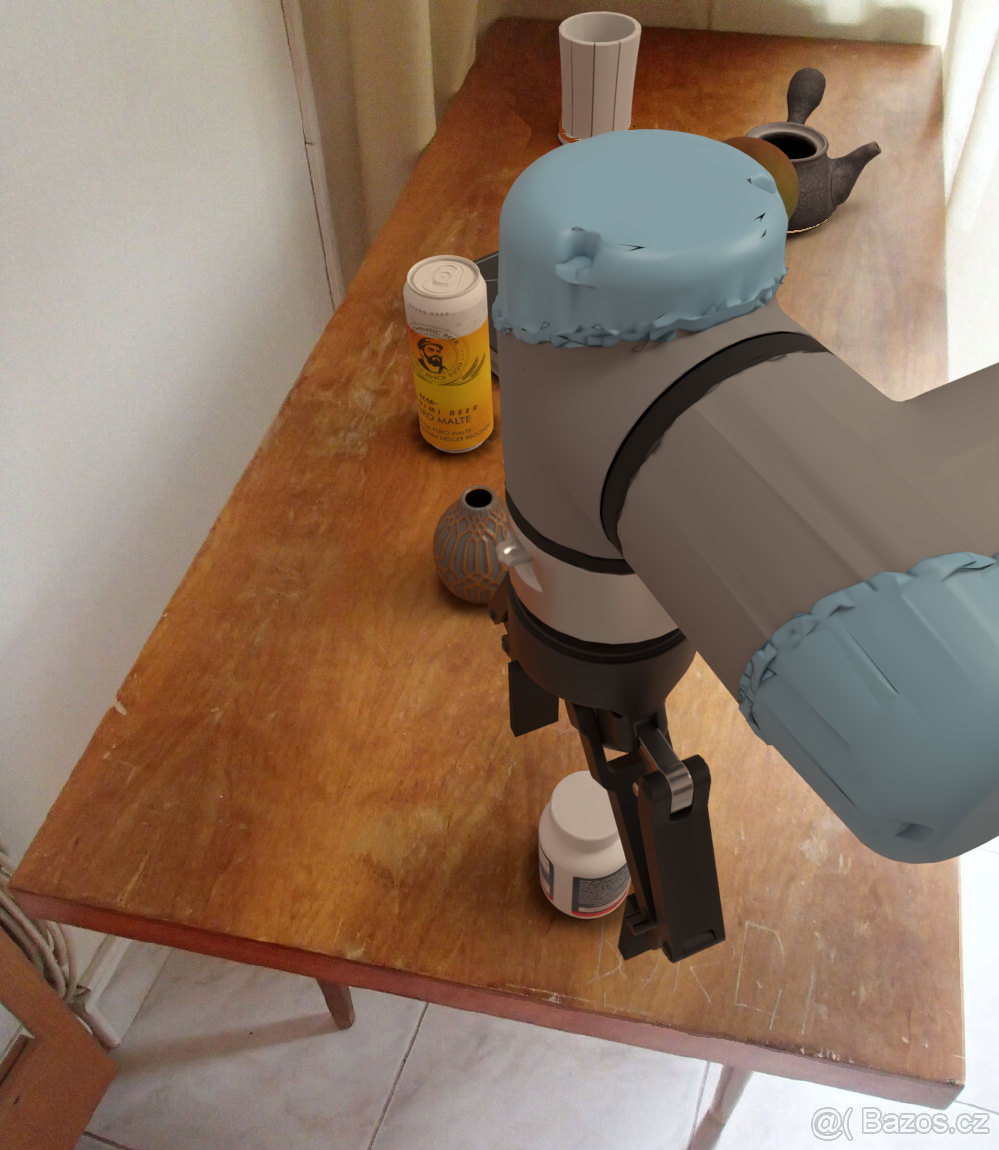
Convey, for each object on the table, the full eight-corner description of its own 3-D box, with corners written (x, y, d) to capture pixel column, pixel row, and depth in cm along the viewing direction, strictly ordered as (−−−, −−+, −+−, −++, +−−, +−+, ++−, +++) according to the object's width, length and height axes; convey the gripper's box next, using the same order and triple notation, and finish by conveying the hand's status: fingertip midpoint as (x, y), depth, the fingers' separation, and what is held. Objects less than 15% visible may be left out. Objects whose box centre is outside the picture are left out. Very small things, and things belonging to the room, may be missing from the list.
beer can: (410, 449, 81) (388, 292, 70) (436, 403, 85) (419, 246, 74) (479, 463, 80) (468, 305, 69) (503, 416, 84) (496, 258, 72)
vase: (533, 618, 70) (532, 534, 63) (435, 620, 70) (424, 537, 63) (530, 545, 74) (529, 459, 67) (438, 547, 74) (428, 462, 68)
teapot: (867, 250, 98) (894, 152, 90) (710, 240, 100) (723, 144, 93) (857, 156, 110) (881, 63, 102) (716, 149, 112) (729, 57, 104)
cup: (537, 124, 117) (537, 16, 108) (605, 107, 120) (610, -1, 110) (579, 163, 111) (582, 51, 102) (649, 144, 113) (659, 33, 104)
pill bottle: (646, 863, 58) (660, 790, 51) (602, 938, 55) (610, 872, 48) (568, 818, 60) (571, 742, 53) (522, 888, 57) (518, 818, 50)
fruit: (792, 223, 102) (813, 127, 94) (779, 291, 94) (800, 191, 86) (680, 209, 104) (691, 114, 96) (658, 274, 96) (668, 176, 89)
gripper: (402, 397, 43) (439, 670, 59) (685, 919, 28) (630, 1092, 45) (559, 352, 45) (552, 630, 61) (904, 822, 30) (773, 1023, 46)
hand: (585, 825), depth 53 cm, fingers open, 13 cm apart
